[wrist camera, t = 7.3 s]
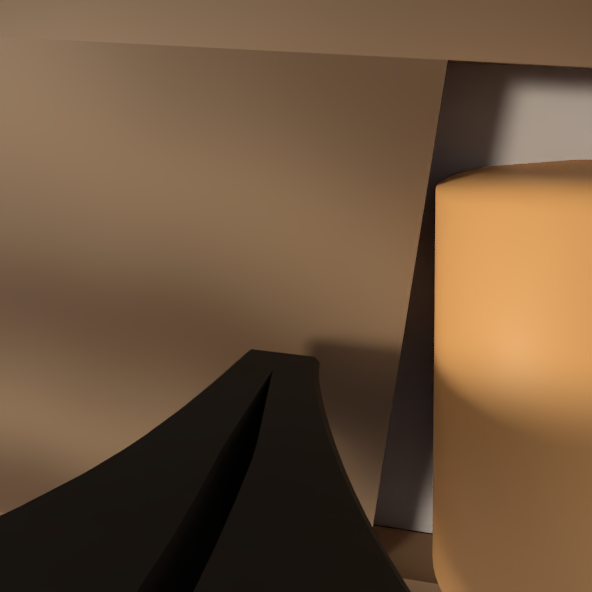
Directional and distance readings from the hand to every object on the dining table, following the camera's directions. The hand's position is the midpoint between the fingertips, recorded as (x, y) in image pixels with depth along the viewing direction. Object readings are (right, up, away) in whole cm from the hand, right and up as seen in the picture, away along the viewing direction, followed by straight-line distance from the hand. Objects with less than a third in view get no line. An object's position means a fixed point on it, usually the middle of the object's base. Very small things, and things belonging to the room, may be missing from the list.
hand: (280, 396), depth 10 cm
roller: (+5, 0, 0) cm, 5 cm away
